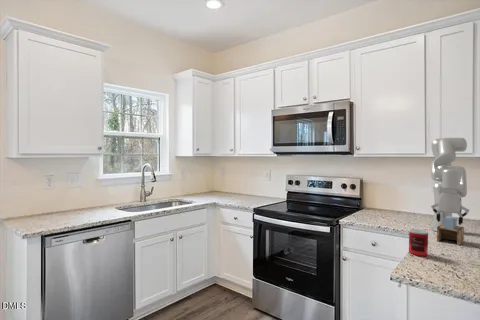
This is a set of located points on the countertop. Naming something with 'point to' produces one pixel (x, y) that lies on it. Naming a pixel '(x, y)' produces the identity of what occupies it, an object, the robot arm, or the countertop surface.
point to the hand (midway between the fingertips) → (449, 222)
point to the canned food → (418, 242)
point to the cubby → (451, 234)
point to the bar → (450, 222)
